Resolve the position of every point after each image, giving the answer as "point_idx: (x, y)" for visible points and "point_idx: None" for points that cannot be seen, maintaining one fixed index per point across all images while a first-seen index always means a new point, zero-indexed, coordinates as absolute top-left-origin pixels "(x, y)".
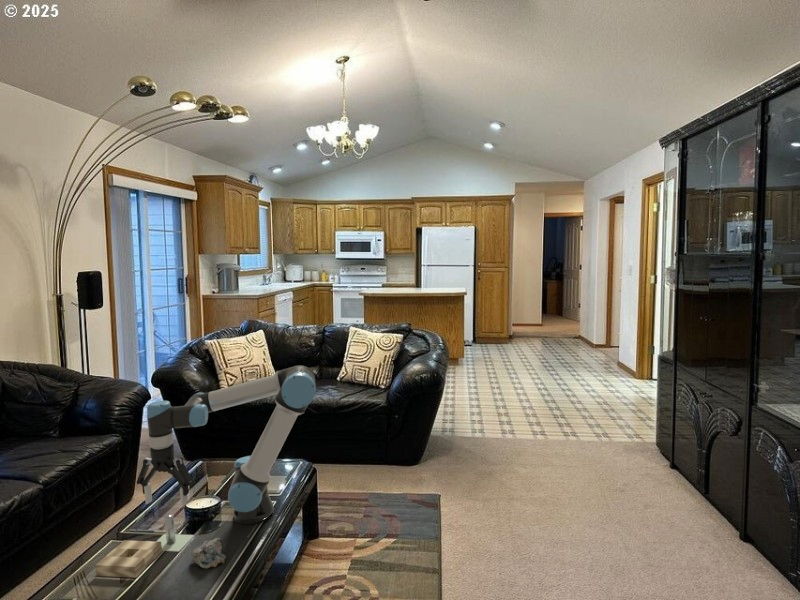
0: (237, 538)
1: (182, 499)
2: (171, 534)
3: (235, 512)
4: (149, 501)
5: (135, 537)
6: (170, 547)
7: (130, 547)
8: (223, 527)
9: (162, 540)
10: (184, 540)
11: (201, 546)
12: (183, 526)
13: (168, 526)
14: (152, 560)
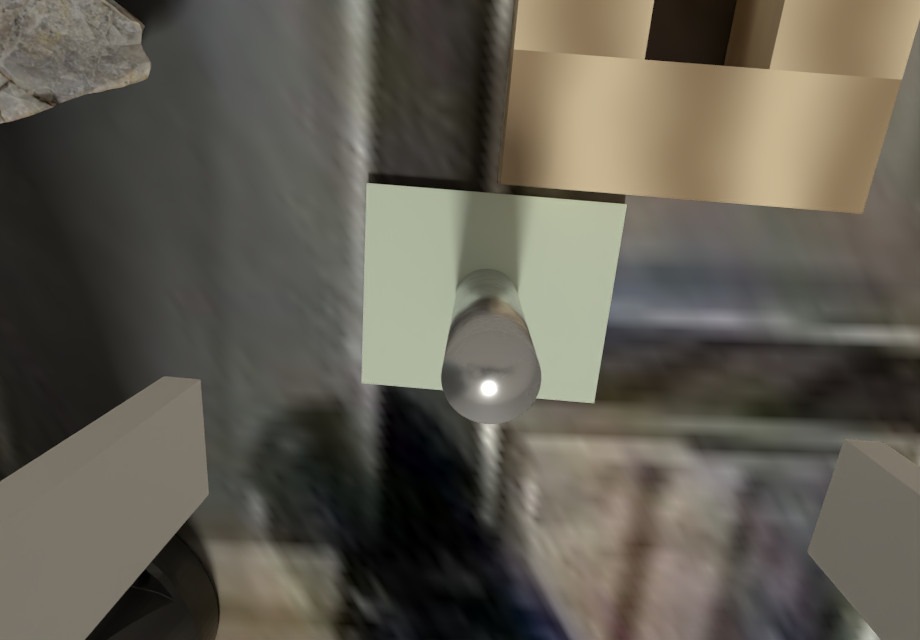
0: (43, 345)
1: (83, 429)
2: (463, 293)
3: (158, 592)
4: (841, 500)
5: (797, 376)
6: (457, 233)
7: (751, 92)
8: (216, 471)
9: (565, 323)
10: (398, 320)
11: (6, 20)
12: (502, 492)
13: (479, 305)
14: (510, 51)
